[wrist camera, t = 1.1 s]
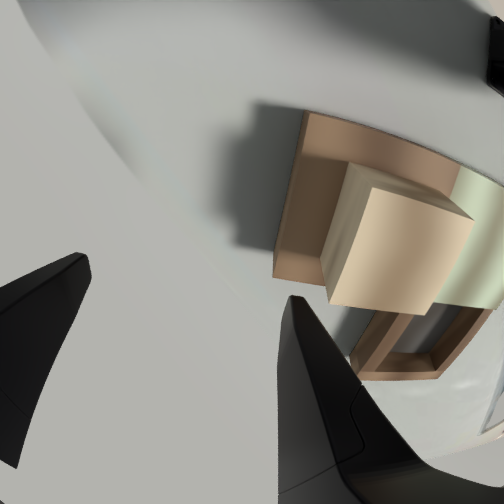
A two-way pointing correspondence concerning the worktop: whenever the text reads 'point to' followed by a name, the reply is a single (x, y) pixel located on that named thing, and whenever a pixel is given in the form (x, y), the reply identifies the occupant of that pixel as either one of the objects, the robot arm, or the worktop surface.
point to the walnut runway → (460, 278)
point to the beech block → (391, 242)
